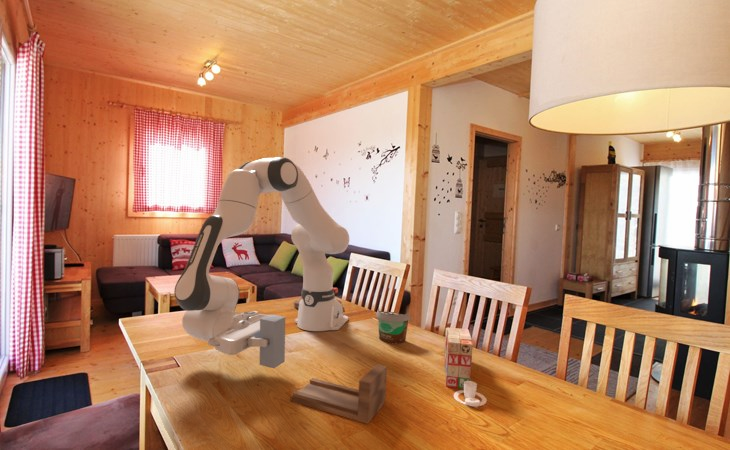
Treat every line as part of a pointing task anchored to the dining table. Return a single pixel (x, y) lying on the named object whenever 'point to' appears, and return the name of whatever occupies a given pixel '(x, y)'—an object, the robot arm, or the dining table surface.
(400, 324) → the food container
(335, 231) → the robot arm
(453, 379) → the stack of blocks
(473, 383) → the teacup and saucer
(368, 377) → the holder
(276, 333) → the block
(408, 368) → the dining table surface
